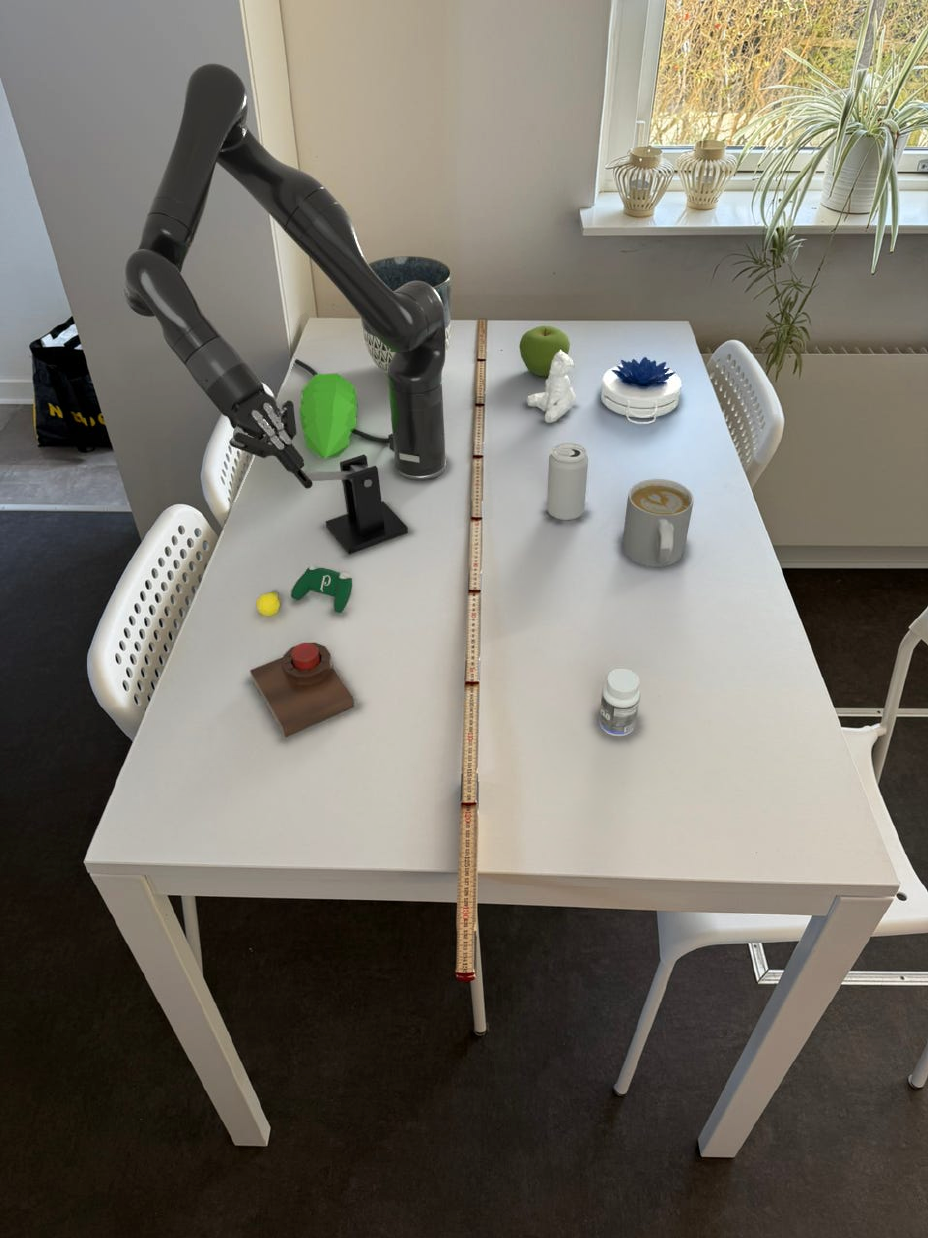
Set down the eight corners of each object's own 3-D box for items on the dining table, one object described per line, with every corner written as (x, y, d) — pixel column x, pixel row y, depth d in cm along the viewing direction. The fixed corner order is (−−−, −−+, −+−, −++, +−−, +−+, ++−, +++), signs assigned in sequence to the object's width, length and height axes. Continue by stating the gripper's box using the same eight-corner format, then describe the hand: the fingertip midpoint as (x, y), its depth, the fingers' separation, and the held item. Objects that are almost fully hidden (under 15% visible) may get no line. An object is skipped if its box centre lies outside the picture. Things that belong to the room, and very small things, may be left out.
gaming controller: (350, 615, 132) (361, 578, 132) (339, 613, 128) (350, 574, 128) (299, 600, 135) (310, 563, 135) (287, 597, 131) (298, 559, 131)
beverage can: (582, 524, 145) (587, 463, 136) (544, 521, 146) (546, 460, 138) (585, 503, 149) (590, 442, 141) (548, 499, 150) (551, 439, 142)
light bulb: (259, 622, 129) (249, 601, 127) (271, 605, 134) (262, 585, 133) (279, 617, 128) (270, 596, 126) (290, 600, 133) (281, 580, 132)
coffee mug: (623, 526, 144) (630, 475, 137) (684, 532, 142) (693, 481, 136) (618, 577, 134) (625, 525, 128) (683, 584, 133) (693, 532, 126)
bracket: (348, 554, 140) (339, 489, 132) (326, 527, 146) (315, 462, 137) (408, 532, 144) (402, 467, 136) (383, 506, 150) (376, 442, 141)
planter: (454, 394, 179) (450, 292, 165) (361, 395, 180) (349, 294, 165) (455, 351, 193) (452, 254, 179) (369, 353, 194) (359, 256, 179)
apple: (521, 360, 190) (522, 316, 183) (569, 362, 188) (571, 318, 182) (516, 383, 182) (517, 338, 175) (566, 386, 180) (569, 340, 174)
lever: (302, 491, 131) (305, 477, 130) (290, 476, 134) (292, 462, 133) (373, 488, 138) (375, 474, 136) (359, 473, 141) (362, 460, 139)
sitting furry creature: (524, 404, 175) (525, 348, 167) (560, 393, 178) (563, 338, 170) (548, 424, 169) (551, 367, 161) (585, 413, 172) (589, 357, 164)
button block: (252, 681, 120) (247, 660, 117) (320, 653, 124) (316, 633, 121) (285, 737, 112) (280, 717, 110) (356, 706, 116) (352, 686, 113)
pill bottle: (595, 711, 114) (600, 667, 108) (630, 708, 114) (637, 664, 109) (602, 739, 111) (608, 695, 105) (638, 736, 111) (646, 692, 105)
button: (289, 658, 118) (287, 649, 117) (313, 648, 119) (311, 639, 118) (299, 674, 116) (297, 665, 114) (324, 664, 117) (322, 654, 116)
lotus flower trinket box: (604, 348, 177) (602, 395, 163) (681, 351, 176) (685, 399, 161) (602, 379, 182) (599, 427, 168) (676, 382, 180) (680, 431, 166)
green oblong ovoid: (341, 347, 169) (336, 419, 146) (369, 396, 176) (368, 472, 153) (291, 372, 171) (278, 446, 148) (321, 419, 178) (313, 497, 155)
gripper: (200, 382, 121) (281, 480, 124) (264, 346, 129) (338, 439, 133) (183, 407, 127) (260, 500, 130) (245, 371, 135) (316, 459, 138)
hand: (299, 469), depth 131 cm, fingers closed
